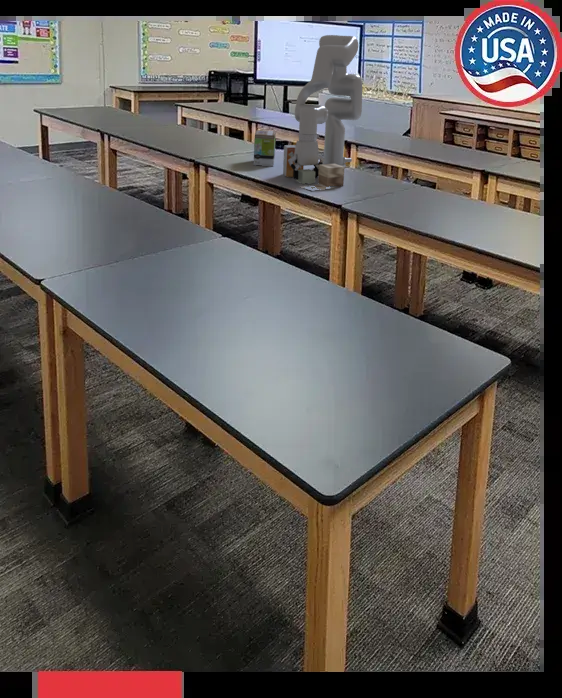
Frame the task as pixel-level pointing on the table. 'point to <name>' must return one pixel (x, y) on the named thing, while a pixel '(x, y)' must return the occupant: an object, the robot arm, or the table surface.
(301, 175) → the sage brick
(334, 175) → the wood-grain cube
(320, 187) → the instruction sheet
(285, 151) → the small box
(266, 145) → the tea box
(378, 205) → the table surface
